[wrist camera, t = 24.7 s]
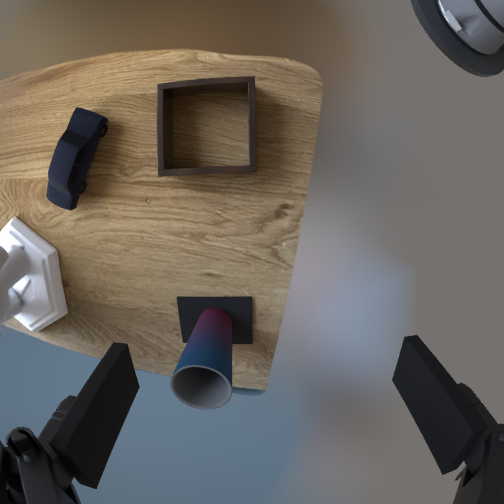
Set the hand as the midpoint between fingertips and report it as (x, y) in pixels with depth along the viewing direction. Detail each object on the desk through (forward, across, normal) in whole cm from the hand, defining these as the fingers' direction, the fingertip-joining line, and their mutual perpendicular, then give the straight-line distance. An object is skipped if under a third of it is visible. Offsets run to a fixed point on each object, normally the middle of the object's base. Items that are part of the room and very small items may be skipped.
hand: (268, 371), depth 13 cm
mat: (+29, -6, -14) cm, 32 cm away
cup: (+28, -6, -14) cm, 32 cm away
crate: (+29, -6, +14) cm, 32 cm away
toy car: (+29, -26, +12) cm, 41 cm away
